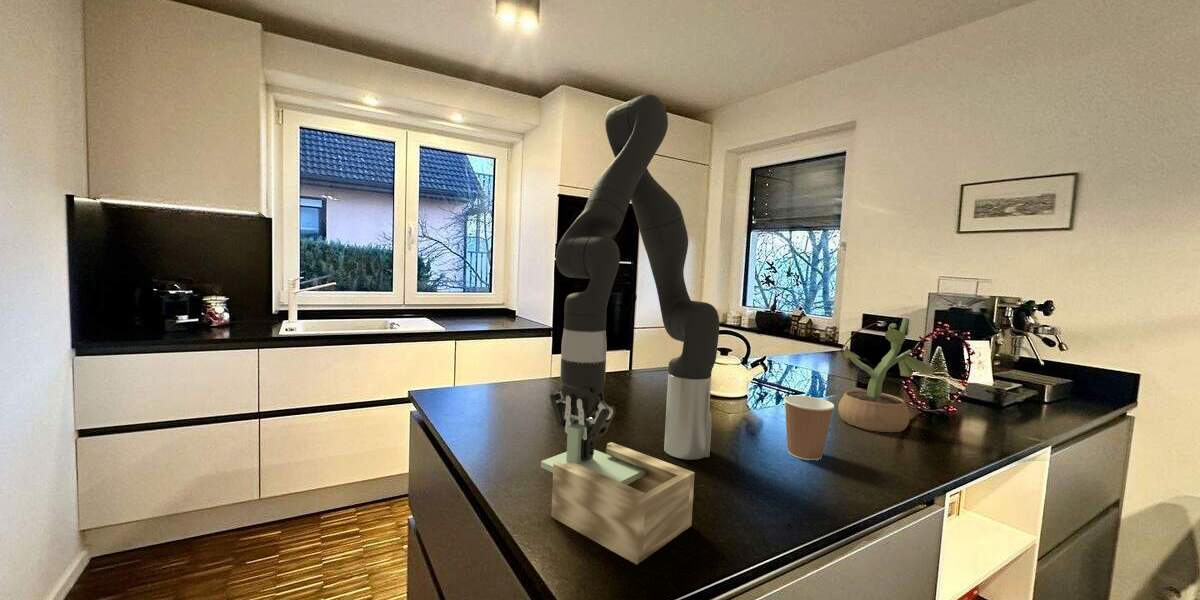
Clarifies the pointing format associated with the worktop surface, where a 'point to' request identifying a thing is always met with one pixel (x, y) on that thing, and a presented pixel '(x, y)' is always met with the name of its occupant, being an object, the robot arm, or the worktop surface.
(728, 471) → the worktop surface
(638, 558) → the box
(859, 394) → the potted plant
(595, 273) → the robot arm
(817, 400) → the coffee cup
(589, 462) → the lid
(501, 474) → the worktop surface
